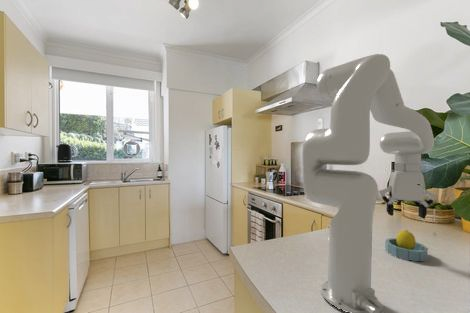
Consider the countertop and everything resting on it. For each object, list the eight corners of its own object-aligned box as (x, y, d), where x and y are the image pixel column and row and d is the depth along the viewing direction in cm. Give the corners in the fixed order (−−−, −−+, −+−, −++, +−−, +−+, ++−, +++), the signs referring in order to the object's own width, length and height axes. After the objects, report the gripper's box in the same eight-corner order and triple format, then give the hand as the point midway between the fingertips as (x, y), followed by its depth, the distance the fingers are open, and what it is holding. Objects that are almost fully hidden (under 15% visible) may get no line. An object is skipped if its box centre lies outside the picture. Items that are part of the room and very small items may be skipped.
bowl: (436, 259, 77) (436, 249, 77) (409, 263, 74) (409, 253, 74) (402, 245, 89) (403, 237, 89) (378, 248, 86) (378, 239, 86)
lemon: (396, 247, 85) (397, 226, 85) (415, 251, 82) (415, 229, 81) (395, 252, 81) (395, 230, 81) (415, 256, 77) (415, 233, 77)
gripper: (430, 169, 82) (428, 216, 82) (376, 167, 87) (375, 211, 87) (442, 170, 75) (441, 221, 75) (383, 168, 80) (382, 216, 80)
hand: (405, 216), depth 81 cm, fingers open, 9 cm apart
